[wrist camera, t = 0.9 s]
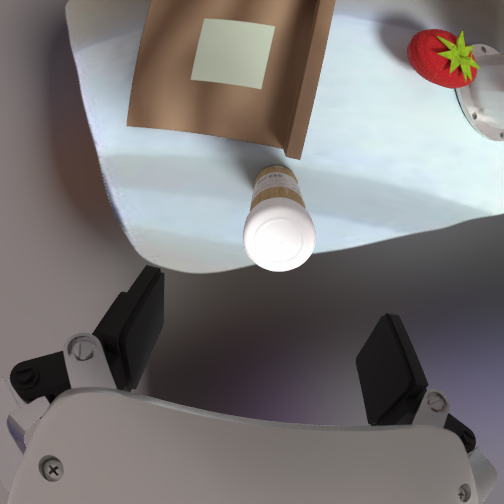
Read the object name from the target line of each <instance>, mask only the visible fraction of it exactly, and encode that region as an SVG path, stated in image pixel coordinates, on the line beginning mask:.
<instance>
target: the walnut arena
mask: <svg viewBox="0 0 504 504" xmlns="http://www.w3.org/2000/svg"><path fill="white" fill-rule="evenodd" d="M334 5H335V0H152V1H151V4H150V8H149V11H148V15H147V18H146V22H145V26H144V30H143V34H142V38H141V43H140V47H139V52H138V56H137V61H136V67H135V72H134V77H133V83H132V90H131V96H130V103H129V111H128V119H127V126H132V127H145V128H156V129H166V130H175V131H183V132H191V133H198V134H205V135H212V136H218V137H225V138H230V139H236V140H242V141H247V142H252V143H257V144H262V145H267V146H272V147H277V148H281V149H284V153H285V156H286V157H289V158H294V159H298V160H300V158H301V154H302V150H303V146H304V142H305V137H306V133H307V129H308V125H309V120H310V116H311V112H312V108H313V103H314V99H315V94H316V90H317V86H318V81H319V77H320V72H321V68H322V63H323V58H324V54H325V49H326V44H327V40H328V35H329V30H330V25H331V20H332V15H333V10H334ZM204 18H207V19H222V20H233V21H242V22H250V23H257V24H264V25H270V26H275V30H274V35H273V39H272V43H271V48H270V52H269V57H268V61H267V66H266V70H265V75H264V79H263V84H262V89H257V88H251V87H245V86H239V85H232V84H225V83H217V82H208V81H198V80H191V75H192V70H193V65H194V60H195V56H196V51H197V47H198V42H199V38H200V34H201V30H202V26H203V22H204Z"/></svg>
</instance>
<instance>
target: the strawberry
mask: <svg viewBox="0 0 504 504" xmlns="http://www.w3.org/2000/svg"><path fill="white" fill-rule="evenodd" d="M472 47H473V49H472ZM471 49H472V52H471ZM473 50H474V46H472V45H471V46H467V45H466V44H465V41H464V35H463V30H461V32H460V34H459V36H458V37H457V36H455V35H453V34H452V33H449V32H447V31H444V30H439V29H430V30H423V31H420V32H418V33H417V34H415V35H414V37H413V38H412V40H411V42H410V43H409V46H408V49H407V54H408V59H409V61H410V63H411V65H412V66H413V68H414V69H415V70H416V72H417V73H418V74H420V75H421V76H422V77H423V78H425V79H426V80H428V81H430V82H432V83H435V84H437V85H440V86H443V87H446V88H452V89H453V88H461V87H464V86H467V85H469V84H471V83H472V82H473V81H474V79H475V77H476V74H477V69H480V67H479V66H478V65H477V64H476V61H475V58H474V55H473ZM480 70H481V69H480Z"/></svg>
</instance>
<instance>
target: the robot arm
mask: <svg viewBox="0 0 504 504" xmlns="http://www.w3.org/2000/svg"><path fill="white" fill-rule="evenodd" d="M469 46H471V45H469ZM472 46H474V50H473V55H474V58H475V61H476V64H477V65H478V66H479V67H480V69H481V70H480V69H477V74H476V77H475V79H474V81H473V82H472V83H471V84H469V85H467V86H464V87H461V88H456V91H457V96H458V99H459V102H460V105H461V108H462V110H463V112H464V114H465V116H466V118H467V119H468V121H469V122H470V124H471V125H472V126H473V128H474V129H475V130H476V131H477V132H478V133H480V134H481V135H482V136H484V137H486V138H488V139H491V140H494V141H504V54H500V53H499V52H498V51H497V50H495V49H494V48H492V47H490V46H488V45H485V44H472ZM472 49H473V47H472ZM472 49H471V52H472ZM163 323H164V273H162V272H161V270H160V268H157V267H152V266H148V265H146V267H145V268H144V269H143V271H142V272H141V273H140V275H139V276H138V278H137V279H136V281H135V282H134V283H133V285H132V286H131V288H130V289H129V290H128V292H121V293H120V294H119V295H118V297H117V298H116V300H115V301H114V302H113V304H112V305H111V307H110V308H109V310H108V311H107V313H106V314H105V315H104V317H103V319H102V320H101V321H100V323H99V324H98V326H97V327H96V329H95V331H94V332H93V333H92V334H89V333H78V334H75V335H73V336H71V337H69V338H68V339H67V341H66V342H65V344H64V347H63V351H60V352H57V353H53V354H49V355H46V356H42V357H39V358H35V359H31V360H27V361H23V362H21V363H18V364H17V365H16V366H15V367H14V368H13V369H12V371H11V374H10V378H9V379H7V380H5V379H4V378H3V379H1V380H0V481H1V482H2V484H3V486H4V487H5V489H6V490H7V492H8V493H9V495H10V496H9V499H8V503H7V504H482V503H483V502H484V500H485V499H486V497H487V496H488V494H489V493H490V491H491V490H492V488H493V487H494V485H495V483H496V481H497V471H496V469H495V468H494V466H493V465H492V464H491V463H490V461H489V460H488V458H487V457H486V456H485V455H484V453H483V452H482V451H481V450H480V448H479V447H476V448H475V444H476V439H475V436H474V434H473V432H472V431H471V430H470V429H469V428H468V427H466V426H465V425H464V424H463V423H461V422H460V421H458V420H457V419H456V418H455V417H453V416H452V415H451V414H449V413H448V412H449V401H448V399H447V398H446V396H445V395H444V394H443V393H442V392H440V391H438V390H436V389H430V390H428V391H427V390H426V387H427V386H428V382H427V380H426V377H425V375H424V372H423V370H422V367H421V365H420V362H419V360H418V357H417V355H416V352H415V350H414V348H413V345H412V343H411V341H410V339H409V336H408V334H407V332H406V330H405V327H404V325H403V323H402V321H401V319H400V317H399V316H398V315H395V314H389V313H387V314H385V315H384V316H382V317H381V318H380V320H379V321H378V323H377V325H376V326H375V328H374V330H373V331H372V333H371V335H370V336H369V338H368V340H367V341H366V343H365V345H364V346H363V348H362V349H361V351H360V353H359V354H358V356H357V358H356V366H357V371H358V375H359V379H360V384H361V389H362V394H363V399H364V403H365V409H366V414H367V420H368V423H369V424H371V426H323V425H305V424H292V423H282V422H273V421H265V420H257V419H250V418H244V417H236V416H231V415H225V414H220V413H215V412H210V411H205V410H201V409H196V408H192V407H187V406H183V405H179V404H175V403H171V402H167V401H163V400H159V399H155V398H152V397H148V396H144V395H140V394H136V393H132V392H131V389H136V388H137V385H138V383H139V381H140V379H141V376H142V374H143V371H144V369H145V367H146V364H147V362H148V359H149V357H150V355H151V353H152V350H153V348H154V346H155V344H156V341H157V339H158V337H159V335H160V332H161V330H162V328H163ZM39 418H40V419H41V420H40V421H39V423H38V425H37V427H36V429H35V431H34V433H33V435H32V437H31V439H30V441H29V443H28V445H27V448H26V445H25V444H24V434H25V432H26V431H27V430H28V429H29V428H30V427H32V426H33V425H34V423H33V422H35V421H36V420H38V419H39Z"/></svg>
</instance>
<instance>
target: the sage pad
mask: <svg viewBox="0 0 504 504" xmlns="http://www.w3.org/2000/svg"><path fill="white" fill-rule="evenodd" d="M274 30H275V26H270V25H264V24H257V23H250V22H242V21H233V20H222V19H207V18H204V22H203V26H202V30H201V34H200V38H199V42H198V47H197V51H196V56H195V60H194V65H193V70H192V75H191V80H198V81H208V82H217V83H225V84H232V85H239V86H245V87H251V88H257V89H262V84H263V79H264V75H265V70H266V66H267V61H268V57H269V52H270V48H271V43H272V39H273V35H274Z"/></svg>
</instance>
